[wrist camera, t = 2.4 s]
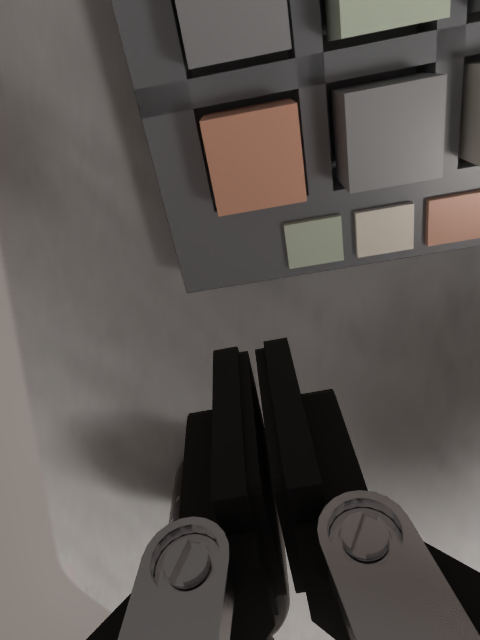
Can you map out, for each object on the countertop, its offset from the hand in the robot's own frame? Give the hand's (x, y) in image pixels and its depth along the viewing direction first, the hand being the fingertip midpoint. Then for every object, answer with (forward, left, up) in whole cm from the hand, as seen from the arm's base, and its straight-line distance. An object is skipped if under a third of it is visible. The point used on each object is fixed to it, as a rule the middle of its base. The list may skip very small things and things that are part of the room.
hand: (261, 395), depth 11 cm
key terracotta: (-1, -3, -11) cm, 12 cm away
